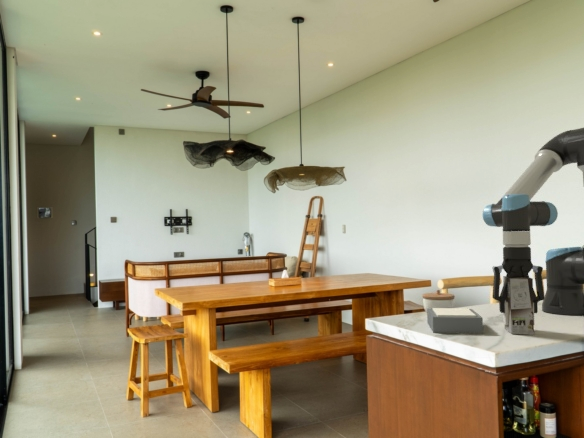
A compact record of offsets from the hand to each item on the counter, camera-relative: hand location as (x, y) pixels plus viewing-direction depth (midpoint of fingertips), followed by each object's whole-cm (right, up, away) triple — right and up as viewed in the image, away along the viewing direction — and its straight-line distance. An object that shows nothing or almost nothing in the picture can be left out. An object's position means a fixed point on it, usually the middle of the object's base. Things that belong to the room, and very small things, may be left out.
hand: (518, 324), depth 146 cm
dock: (-17, -3, +7) cm, 19 cm away
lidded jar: (-16, -3, +26) cm, 31 cm away
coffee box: (0, -2, 0) cm, 2 cm away
